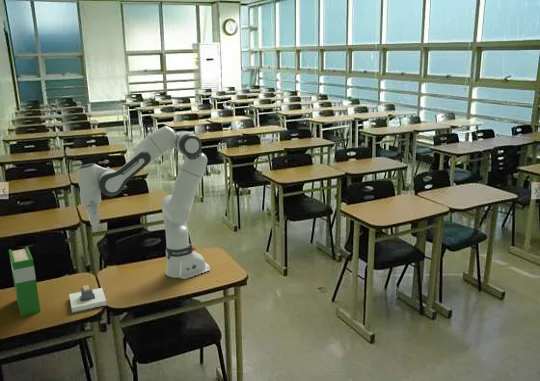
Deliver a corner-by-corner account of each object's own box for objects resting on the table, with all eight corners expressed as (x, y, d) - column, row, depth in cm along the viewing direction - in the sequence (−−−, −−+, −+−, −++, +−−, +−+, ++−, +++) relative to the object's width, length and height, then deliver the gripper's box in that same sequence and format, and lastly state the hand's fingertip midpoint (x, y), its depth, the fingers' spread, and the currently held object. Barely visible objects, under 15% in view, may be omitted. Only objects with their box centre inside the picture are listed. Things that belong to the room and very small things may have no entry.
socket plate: (102, 292, 216) (102, 287, 216) (106, 305, 204) (106, 300, 203) (69, 299, 210) (69, 294, 210) (72, 313, 198) (71, 307, 197)
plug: (92, 298, 210) (91, 284, 208) (93, 302, 206) (92, 288, 204) (81, 300, 208) (80, 286, 206) (82, 304, 204) (81, 290, 202)
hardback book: (16, 299, 210) (8, 249, 204) (34, 295, 214) (27, 246, 208) (21, 316, 196) (12, 263, 190) (40, 311, 200) (32, 259, 194)
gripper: (101, 203, 205) (104, 233, 208) (95, 193, 223) (98, 221, 226) (85, 205, 202) (89, 236, 205) (81, 195, 220) (84, 223, 223)
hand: (94, 228), depth 216 cm, fingers open, 8 cm apart
